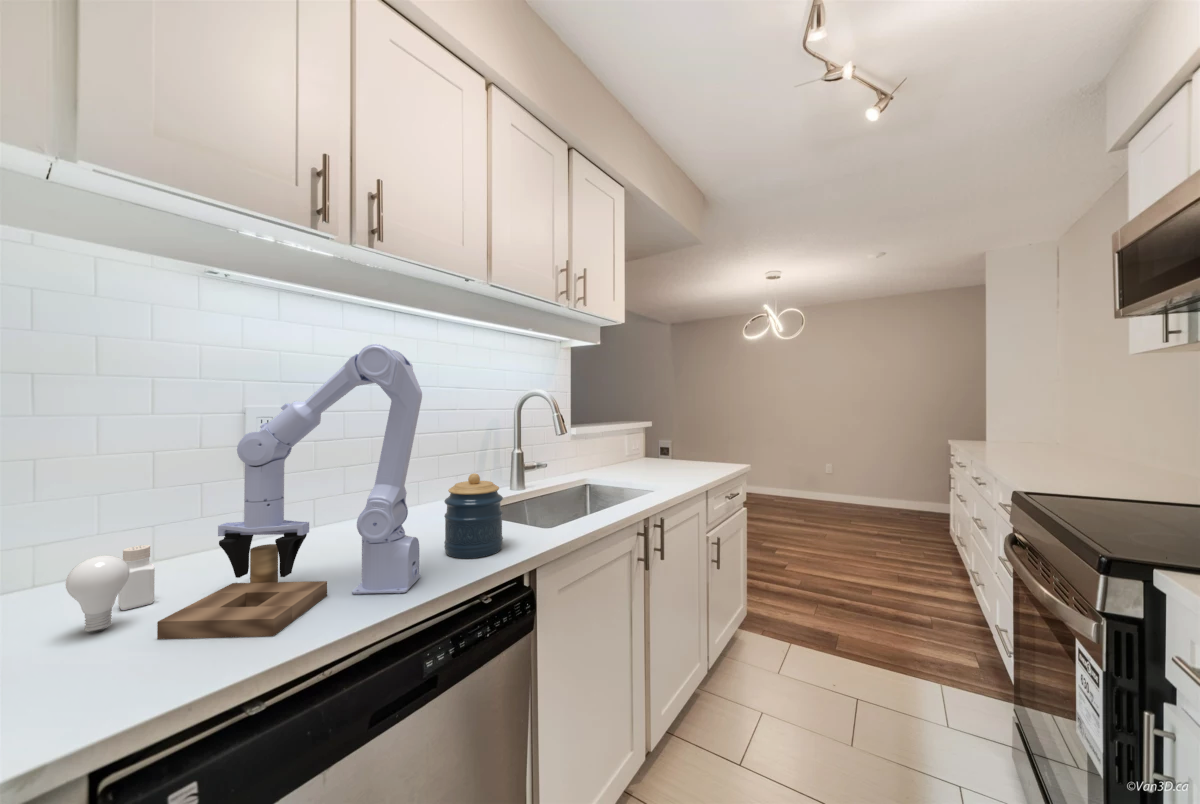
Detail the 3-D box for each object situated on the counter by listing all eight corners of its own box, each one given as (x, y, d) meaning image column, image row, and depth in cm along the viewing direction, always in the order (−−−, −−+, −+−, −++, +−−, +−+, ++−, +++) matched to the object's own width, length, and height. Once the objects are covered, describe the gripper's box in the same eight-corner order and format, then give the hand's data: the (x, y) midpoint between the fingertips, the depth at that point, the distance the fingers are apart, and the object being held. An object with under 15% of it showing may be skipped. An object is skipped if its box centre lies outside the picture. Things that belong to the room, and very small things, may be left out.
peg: (283, 587, 83) (283, 543, 83) (268, 597, 79) (268, 550, 79) (260, 588, 82) (260, 544, 83) (244, 597, 78) (244, 551, 79)
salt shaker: (151, 597, 78) (151, 542, 79) (154, 603, 76) (155, 547, 76) (117, 605, 75) (118, 548, 75) (120, 612, 73) (120, 553, 73)
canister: (466, 539, 112) (466, 468, 112) (513, 544, 108) (513, 470, 108) (431, 556, 100) (432, 476, 100) (482, 562, 96) (482, 479, 96)
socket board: (327, 595, 79) (327, 581, 79) (273, 636, 65) (273, 618, 65) (232, 597, 78) (232, 583, 78) (157, 639, 64) (157, 621, 64)
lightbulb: (61, 633, 66) (62, 558, 66) (123, 616, 71) (124, 547, 71) (69, 646, 62) (69, 566, 62) (134, 627, 68) (134, 554, 68)
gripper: (319, 494, 85) (318, 566, 85) (239, 494, 84) (238, 567, 84) (295, 502, 78) (295, 581, 78) (208, 502, 77) (207, 582, 77)
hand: (263, 575), depth 81 cm, fingers open, 7 cm apart
